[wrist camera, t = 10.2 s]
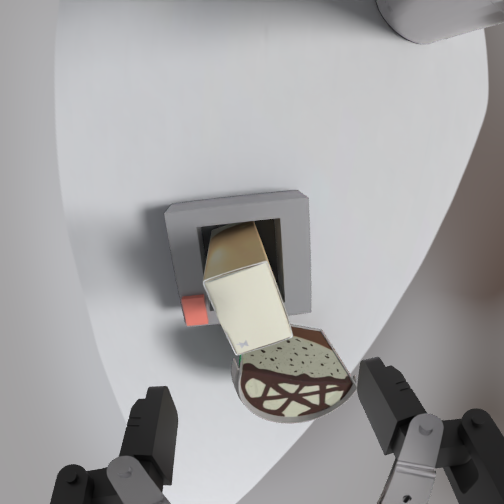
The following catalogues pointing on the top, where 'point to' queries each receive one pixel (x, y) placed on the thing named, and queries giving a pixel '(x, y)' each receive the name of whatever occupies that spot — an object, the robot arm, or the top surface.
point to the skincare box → (244, 289)
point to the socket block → (233, 211)
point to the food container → (293, 378)
